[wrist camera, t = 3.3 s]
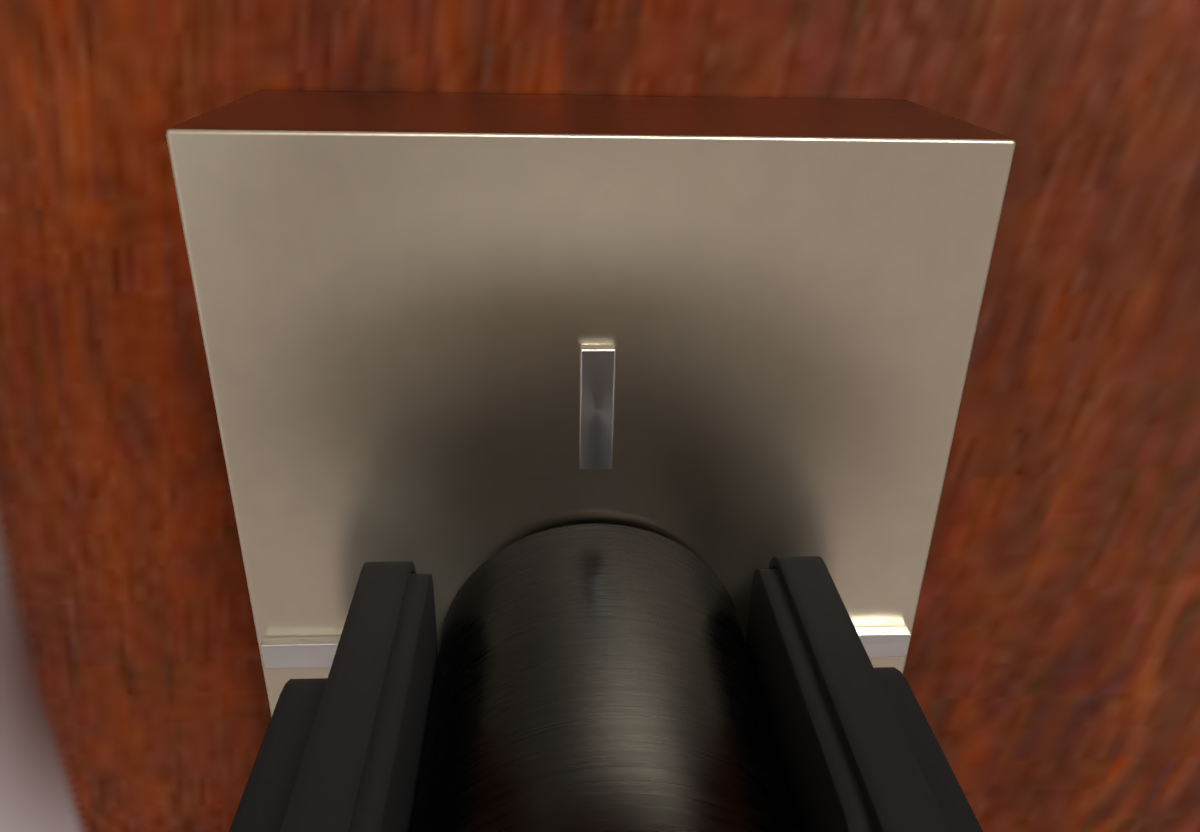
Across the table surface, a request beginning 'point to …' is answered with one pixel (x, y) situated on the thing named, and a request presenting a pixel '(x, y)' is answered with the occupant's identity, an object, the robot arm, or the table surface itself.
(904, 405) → the panel
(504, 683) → the hob knob
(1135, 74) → the table surface
